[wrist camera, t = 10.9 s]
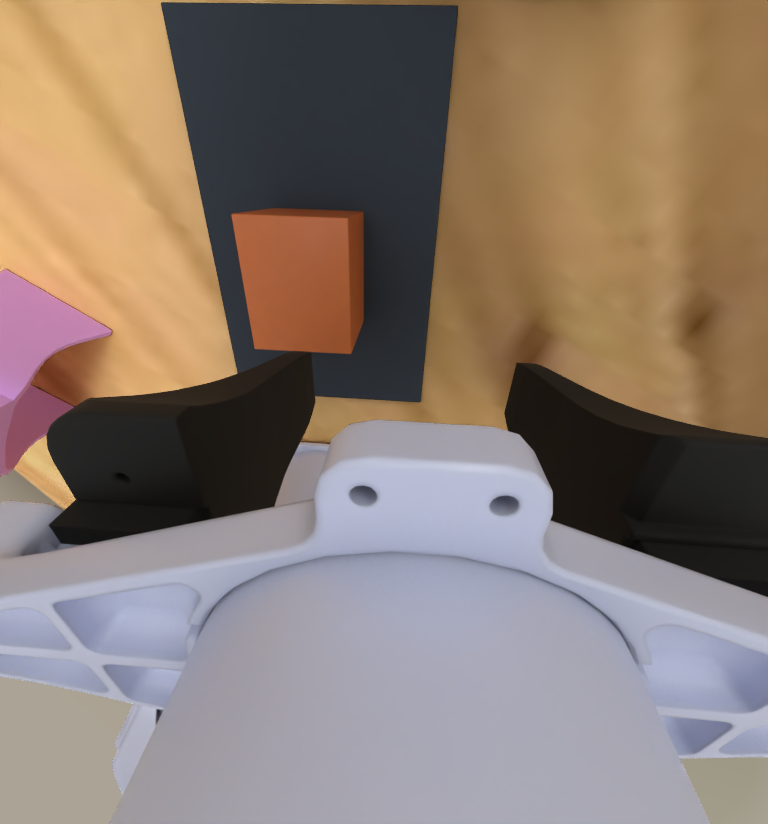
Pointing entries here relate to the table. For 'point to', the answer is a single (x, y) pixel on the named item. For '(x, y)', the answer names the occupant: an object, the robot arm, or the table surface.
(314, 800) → the robot arm
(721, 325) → the table surface
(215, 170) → the back mat
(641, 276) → the table surface
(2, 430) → the toy chair
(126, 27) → the table surface
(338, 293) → the orange box
